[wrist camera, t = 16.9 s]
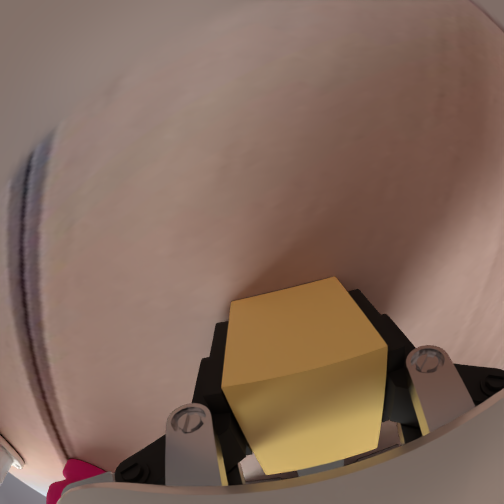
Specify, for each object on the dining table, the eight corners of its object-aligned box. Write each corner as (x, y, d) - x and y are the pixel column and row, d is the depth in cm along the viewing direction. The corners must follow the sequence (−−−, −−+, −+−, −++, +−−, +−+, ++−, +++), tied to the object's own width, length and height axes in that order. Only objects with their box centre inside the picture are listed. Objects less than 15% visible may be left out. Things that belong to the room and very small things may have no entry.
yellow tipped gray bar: (299, 496, 16) (305, 538, 11) (231, 301, 10) (221, 387, 6) (346, 485, 16) (357, 526, 11) (334, 276, 10) (387, 345, 6)
